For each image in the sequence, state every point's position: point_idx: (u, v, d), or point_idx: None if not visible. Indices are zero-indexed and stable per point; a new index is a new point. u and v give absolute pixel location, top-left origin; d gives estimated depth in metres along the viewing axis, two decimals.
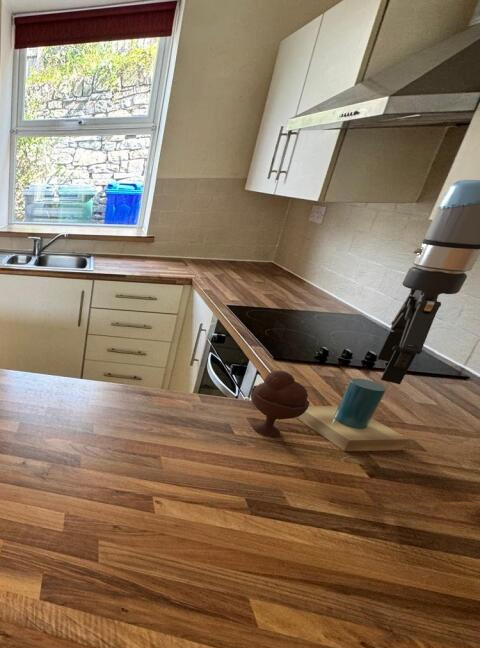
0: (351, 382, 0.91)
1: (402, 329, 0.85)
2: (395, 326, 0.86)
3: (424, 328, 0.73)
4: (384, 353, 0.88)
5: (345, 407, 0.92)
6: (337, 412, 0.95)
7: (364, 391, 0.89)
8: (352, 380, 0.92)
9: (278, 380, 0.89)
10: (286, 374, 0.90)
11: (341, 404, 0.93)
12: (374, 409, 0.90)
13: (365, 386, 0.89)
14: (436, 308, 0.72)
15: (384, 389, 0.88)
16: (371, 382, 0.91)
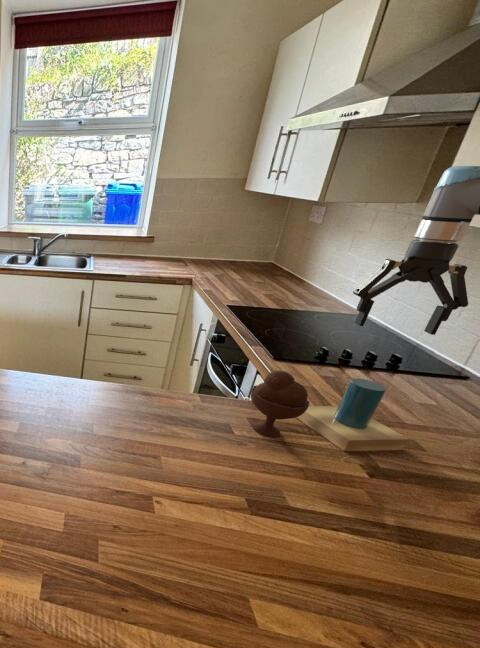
0: (351, 382, 0.91)
1: (447, 304, 0.94)
2: (440, 300, 0.95)
3: (372, 278, 0.97)
4: (428, 325, 0.97)
5: (345, 407, 0.92)
6: (337, 412, 0.95)
7: (364, 391, 0.89)
8: (352, 380, 0.92)
9: (278, 380, 0.89)
10: (286, 374, 0.90)
11: (341, 404, 0.93)
12: (374, 409, 0.90)
13: (365, 386, 0.89)
14: (387, 264, 0.95)
15: (384, 389, 0.88)
16: (371, 382, 0.91)
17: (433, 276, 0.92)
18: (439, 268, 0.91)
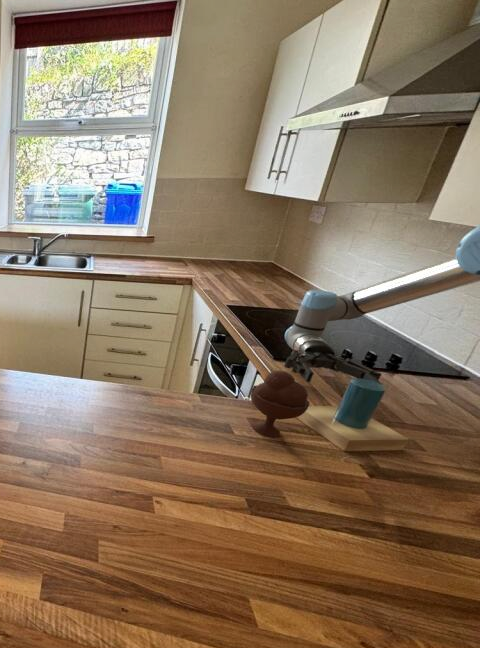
0: (351, 382, 0.91)
1: None
2: None
3: (290, 356, 1.13)
4: None
5: (345, 407, 0.92)
6: (337, 412, 0.95)
7: (364, 391, 0.89)
8: (352, 380, 0.92)
9: (278, 380, 0.89)
10: (286, 374, 0.90)
11: (341, 404, 0.93)
12: (374, 409, 0.90)
13: (365, 386, 0.89)
14: (293, 351, 1.15)
15: (384, 389, 0.88)
16: (371, 382, 0.91)
17: (333, 357, 1.10)
18: None
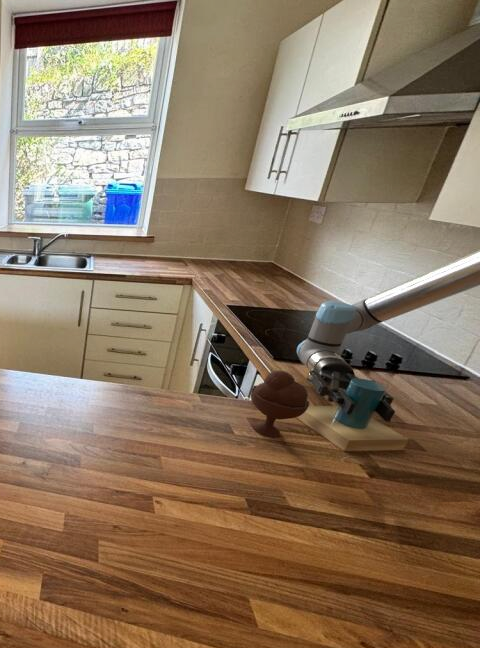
0: (351, 382, 0.91)
1: None
2: None
3: (316, 381, 1.00)
4: (382, 414, 0.88)
5: None
6: (337, 412, 0.95)
7: (364, 391, 0.89)
8: (352, 380, 0.92)
9: (278, 380, 0.89)
10: (286, 374, 0.90)
11: None
12: (374, 409, 0.90)
13: (365, 386, 0.89)
14: (311, 373, 1.03)
15: (384, 389, 0.88)
16: (371, 382, 0.91)
17: (353, 377, 0.99)
18: None
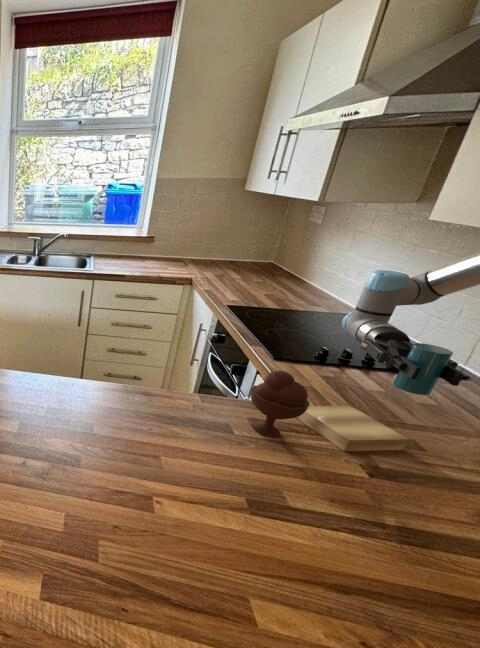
0: (414, 347, 0.88)
1: None
2: None
3: (373, 348, 0.97)
4: (449, 379, 0.85)
5: None
6: (397, 379, 0.91)
7: (429, 355, 0.86)
8: (415, 345, 0.89)
9: (278, 380, 0.89)
10: (286, 374, 0.90)
11: None
12: (439, 374, 0.87)
13: (430, 350, 0.86)
14: (365, 341, 1.00)
15: (451, 352, 0.85)
16: (435, 346, 0.88)
17: (410, 344, 0.96)
18: None
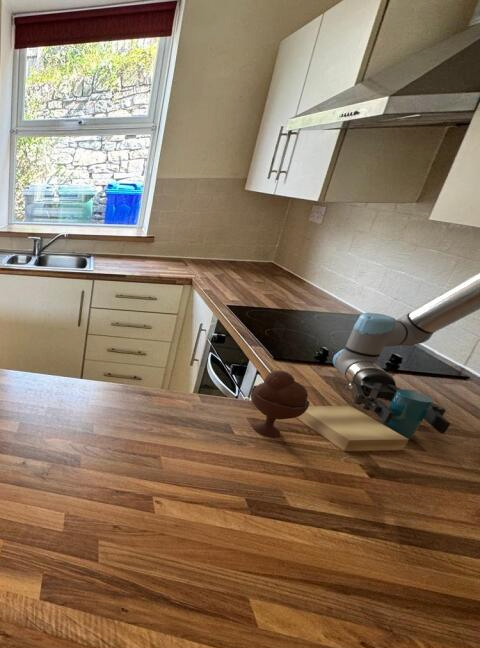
0: (397, 393, 0.93)
1: None
2: None
3: (354, 390, 1.03)
4: (436, 426, 0.90)
5: (391, 418, 0.94)
6: (382, 422, 0.97)
7: (411, 402, 0.91)
8: (398, 391, 0.94)
9: (278, 380, 0.89)
10: (286, 374, 0.90)
11: None
12: (421, 420, 0.92)
13: (412, 397, 0.91)
14: (351, 382, 1.06)
15: (431, 400, 0.90)
16: (417, 393, 0.93)
17: (395, 388, 1.02)
18: None
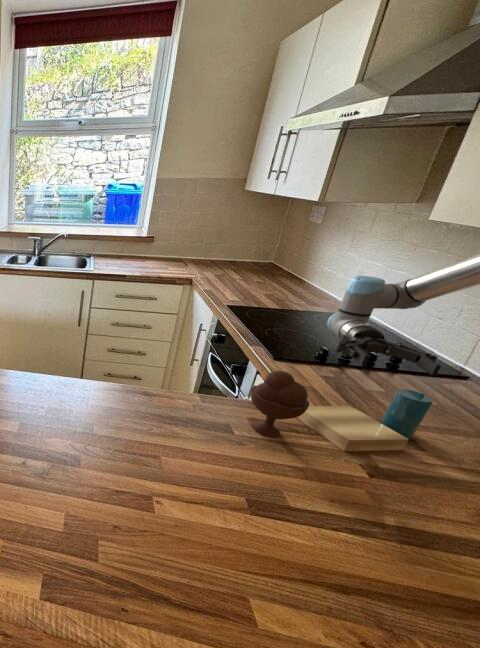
0: (397, 393, 0.93)
1: None
2: (414, 361, 1.04)
3: None
4: (429, 370, 0.99)
5: (391, 418, 0.94)
6: (382, 422, 0.97)
7: (411, 402, 0.91)
8: (398, 391, 0.94)
9: (278, 380, 0.89)
10: (286, 374, 0.90)
11: (387, 414, 0.95)
12: (421, 420, 0.92)
13: (412, 397, 0.91)
14: (342, 336, 1.14)
15: (431, 400, 0.90)
16: (417, 393, 0.93)
17: (384, 341, 1.09)
18: None
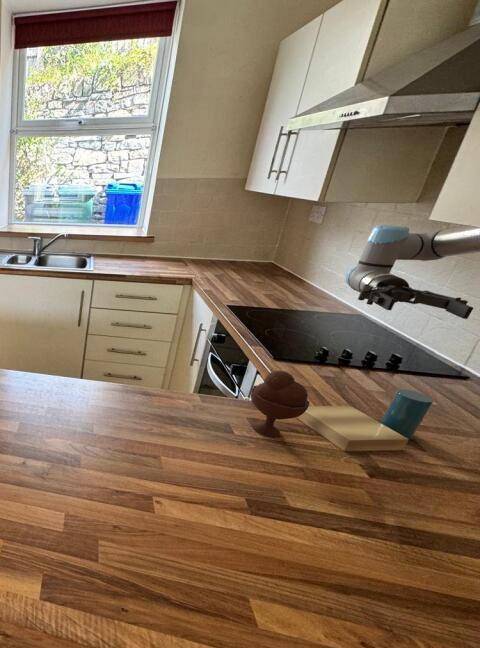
0: (397, 393, 0.93)
1: None
2: (442, 307, 0.98)
3: None
4: (459, 313, 0.93)
5: (391, 418, 0.94)
6: (382, 422, 0.97)
7: (411, 402, 0.91)
8: (398, 391, 0.94)
9: (278, 380, 0.89)
10: (286, 374, 0.90)
11: (387, 414, 0.95)
12: (421, 420, 0.92)
13: (412, 397, 0.91)
14: (364, 286, 1.08)
15: (431, 400, 0.90)
16: (417, 393, 0.93)
17: (410, 288, 1.04)
18: None
